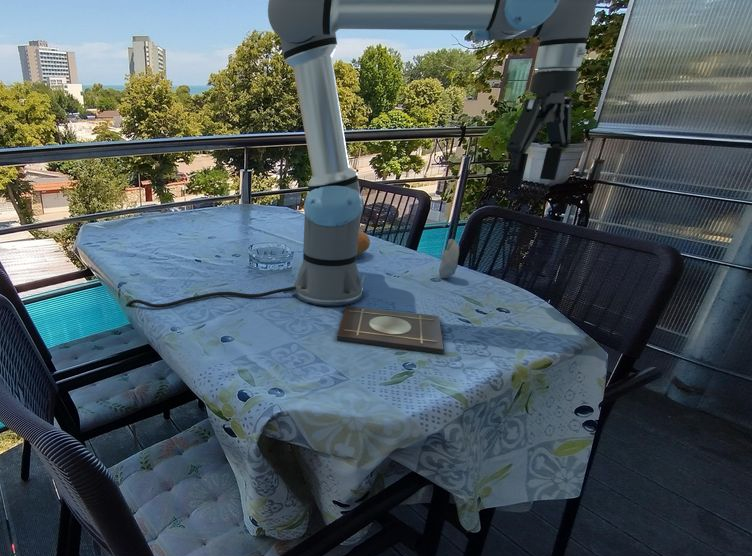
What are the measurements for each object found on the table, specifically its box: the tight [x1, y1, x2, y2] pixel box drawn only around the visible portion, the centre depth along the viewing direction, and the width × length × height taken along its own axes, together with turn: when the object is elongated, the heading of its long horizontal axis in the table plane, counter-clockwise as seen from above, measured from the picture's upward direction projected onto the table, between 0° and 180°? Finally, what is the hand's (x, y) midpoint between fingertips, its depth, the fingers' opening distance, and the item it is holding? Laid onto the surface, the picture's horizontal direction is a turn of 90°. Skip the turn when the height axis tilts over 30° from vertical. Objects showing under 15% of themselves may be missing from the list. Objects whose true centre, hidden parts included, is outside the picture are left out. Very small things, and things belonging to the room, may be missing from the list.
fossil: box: [438, 238, 460, 279], centre depth 111 cm, size 6×4×10 cm, turn 169°
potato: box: [357, 230, 371, 256], centre depth 130 cm, size 9×11×8 cm
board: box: [336, 305, 444, 355], centre depth 89 cm, size 18×14×1 cm
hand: (530, 182), depth 98 cm, fingers open, 13 cm apart
